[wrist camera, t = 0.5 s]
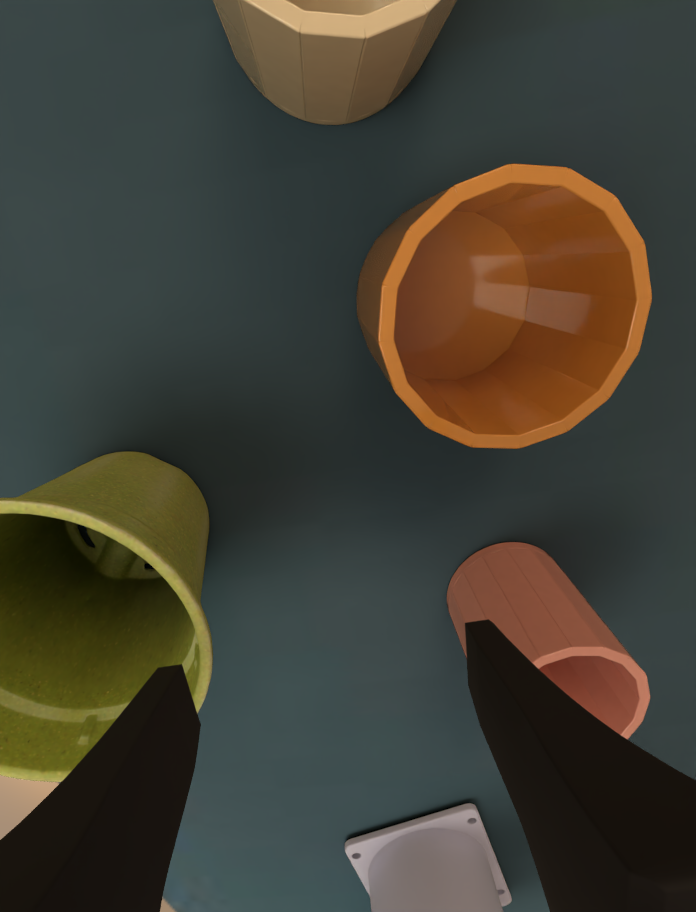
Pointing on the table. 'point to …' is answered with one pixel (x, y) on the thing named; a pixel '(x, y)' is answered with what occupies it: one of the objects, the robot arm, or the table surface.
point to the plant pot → (96, 605)
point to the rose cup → (551, 629)
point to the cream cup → (332, 51)
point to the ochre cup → (507, 304)
